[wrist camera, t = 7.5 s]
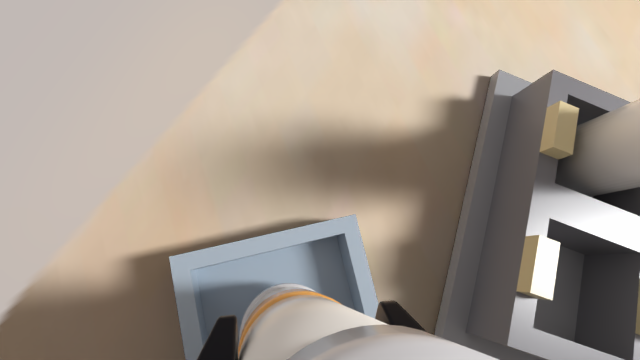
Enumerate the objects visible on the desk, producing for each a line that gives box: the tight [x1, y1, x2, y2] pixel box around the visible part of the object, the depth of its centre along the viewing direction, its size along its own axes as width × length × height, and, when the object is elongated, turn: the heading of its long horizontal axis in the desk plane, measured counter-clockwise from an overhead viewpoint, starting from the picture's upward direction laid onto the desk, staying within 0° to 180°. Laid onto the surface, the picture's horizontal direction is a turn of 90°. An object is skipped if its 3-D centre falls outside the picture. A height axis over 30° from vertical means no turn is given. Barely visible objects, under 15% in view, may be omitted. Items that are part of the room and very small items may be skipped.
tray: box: [169, 214, 379, 360], centre depth 16 cm, size 8×8×2 cm
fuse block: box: [434, 70, 640, 360], centre depth 18 cm, size 16×9×5 cm, turn 161°
